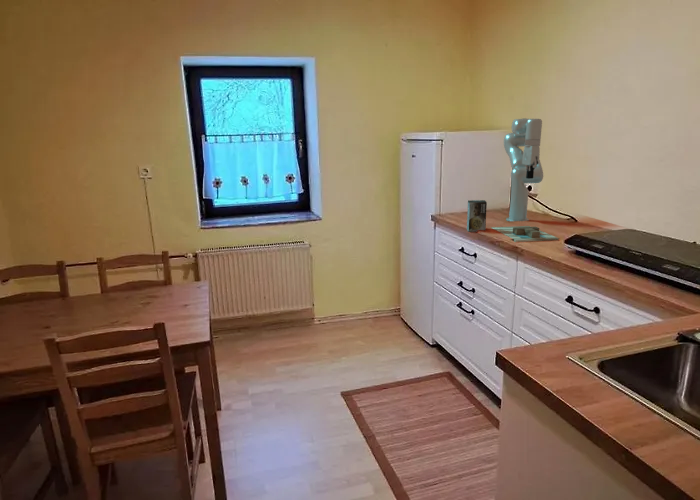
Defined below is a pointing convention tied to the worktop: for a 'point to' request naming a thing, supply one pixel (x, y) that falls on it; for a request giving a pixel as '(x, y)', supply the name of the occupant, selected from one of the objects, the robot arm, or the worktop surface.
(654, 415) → the worktop surface
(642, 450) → the worktop surface
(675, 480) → the worktop surface
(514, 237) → the board
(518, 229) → the t block
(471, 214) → the coffee box
